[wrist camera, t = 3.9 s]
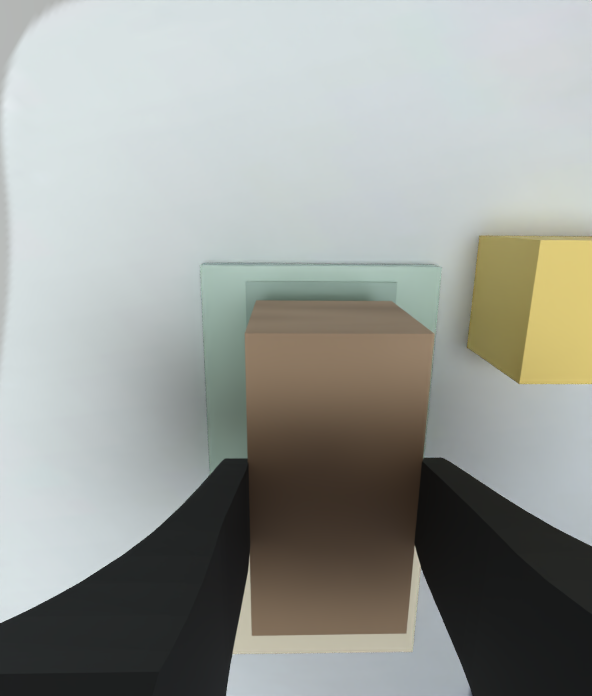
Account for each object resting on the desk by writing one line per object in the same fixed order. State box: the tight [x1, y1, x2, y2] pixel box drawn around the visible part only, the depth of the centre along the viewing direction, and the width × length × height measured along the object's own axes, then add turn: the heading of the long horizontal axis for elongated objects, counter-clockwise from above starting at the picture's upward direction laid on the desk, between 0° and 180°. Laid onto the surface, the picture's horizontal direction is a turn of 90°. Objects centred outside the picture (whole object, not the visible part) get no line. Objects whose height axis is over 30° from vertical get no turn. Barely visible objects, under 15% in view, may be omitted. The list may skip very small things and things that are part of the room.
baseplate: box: [200, 263, 442, 474], centre depth 17 cm, size 10×8×1 cm
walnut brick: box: [245, 300, 435, 636], centre depth 13 cm, size 8×4×4 cm, turn 0°
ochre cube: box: [467, 236, 592, 384], centre depth 14 cm, size 4×4×4 cm
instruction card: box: [232, 548, 421, 654], centre depth 19 cm, size 6×8×1 cm
